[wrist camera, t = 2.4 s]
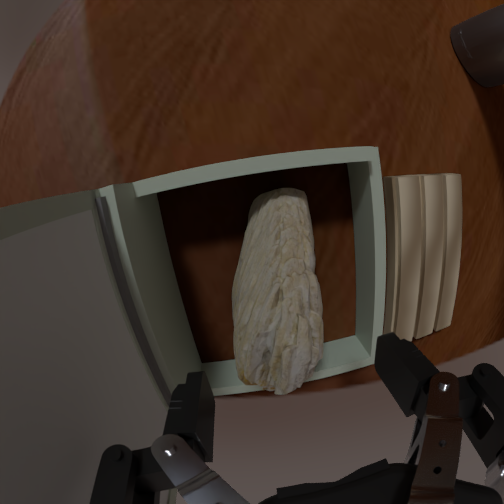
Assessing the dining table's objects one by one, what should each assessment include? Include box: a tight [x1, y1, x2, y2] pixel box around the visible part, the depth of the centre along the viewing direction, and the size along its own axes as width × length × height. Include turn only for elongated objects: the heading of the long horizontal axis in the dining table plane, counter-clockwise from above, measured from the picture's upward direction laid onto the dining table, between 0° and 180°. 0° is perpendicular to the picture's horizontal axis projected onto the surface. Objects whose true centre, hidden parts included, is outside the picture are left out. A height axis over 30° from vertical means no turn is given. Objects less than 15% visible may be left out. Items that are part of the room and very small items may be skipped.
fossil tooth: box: [232, 188, 323, 395], centre depth 18 cm, size 12×6×15 cm
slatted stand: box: [383, 173, 462, 341], centre depth 23 cm, size 9×17×2 cm, turn 9°
